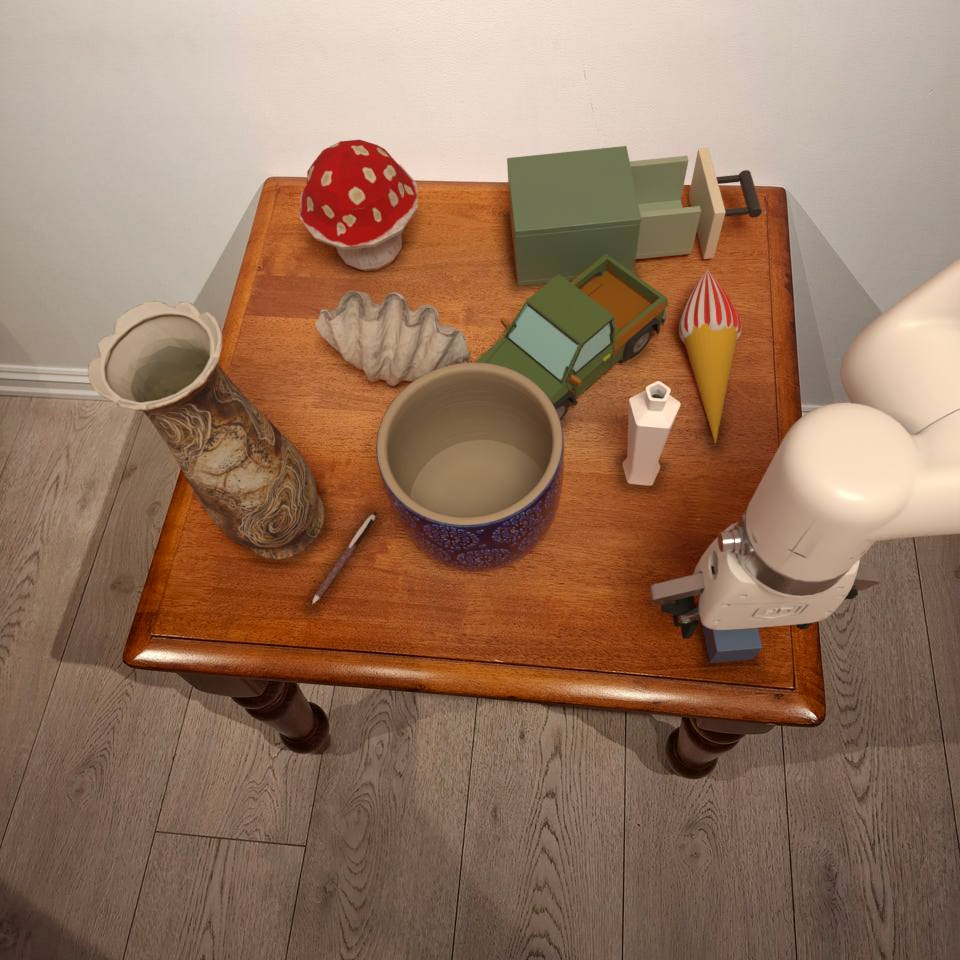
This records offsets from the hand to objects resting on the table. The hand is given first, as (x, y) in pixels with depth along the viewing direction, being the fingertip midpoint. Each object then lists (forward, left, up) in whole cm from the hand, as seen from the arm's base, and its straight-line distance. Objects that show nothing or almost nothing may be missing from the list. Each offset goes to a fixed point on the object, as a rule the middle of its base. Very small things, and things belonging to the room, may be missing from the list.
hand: (740, 616), depth 72 cm
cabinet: (+9, -50, -8) cm, 51 cm away
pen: (+36, -12, -8) cm, 38 cm away
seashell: (+30, -35, -8) cm, 46 cm away
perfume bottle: (+5, -19, -8) cm, 21 cm away
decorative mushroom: (+33, -52, -8) cm, 62 cm away
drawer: (-4, -50, -7) cm, 50 cm away
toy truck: (+11, -33, -8) cm, 35 cm away
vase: (+43, -17, -8) cm, 46 cm away
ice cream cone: (-4, -31, -8) cm, 32 cm away
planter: (+22, -16, -8) cm, 28 cm away
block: (0, 0, -8) cm, 8 cm away
